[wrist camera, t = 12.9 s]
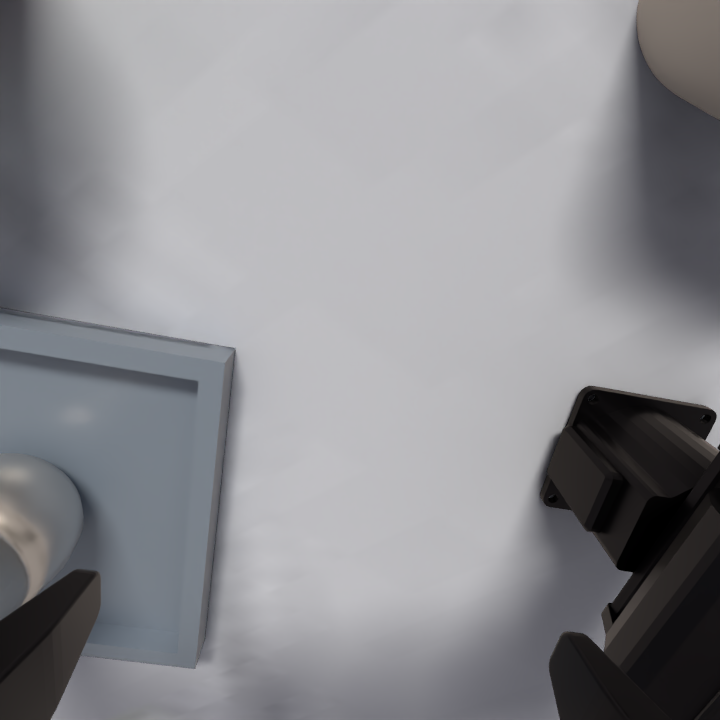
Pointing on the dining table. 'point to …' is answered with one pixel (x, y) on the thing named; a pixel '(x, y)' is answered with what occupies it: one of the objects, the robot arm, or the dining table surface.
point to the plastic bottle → (34, 526)
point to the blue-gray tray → (127, 468)
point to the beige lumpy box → (683, 48)
